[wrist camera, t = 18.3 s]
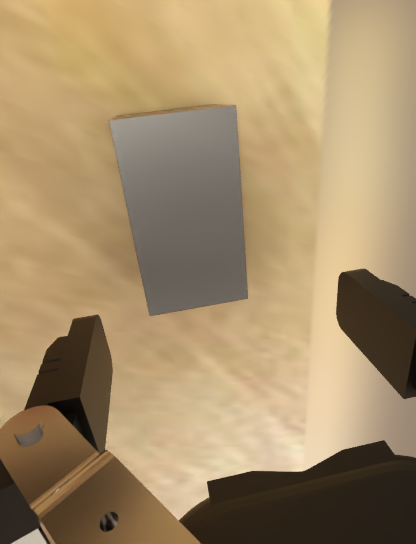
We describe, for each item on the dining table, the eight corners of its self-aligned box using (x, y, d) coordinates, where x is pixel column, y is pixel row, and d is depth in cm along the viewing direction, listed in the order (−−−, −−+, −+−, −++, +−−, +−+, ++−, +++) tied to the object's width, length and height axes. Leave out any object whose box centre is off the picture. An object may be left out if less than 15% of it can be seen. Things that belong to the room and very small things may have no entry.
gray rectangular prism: (227, 259, 30) (248, 298, 24) (147, 272, 29) (149, 316, 23) (213, 104, 25) (236, 105, 19) (116, 115, 24) (108, 120, 18)
